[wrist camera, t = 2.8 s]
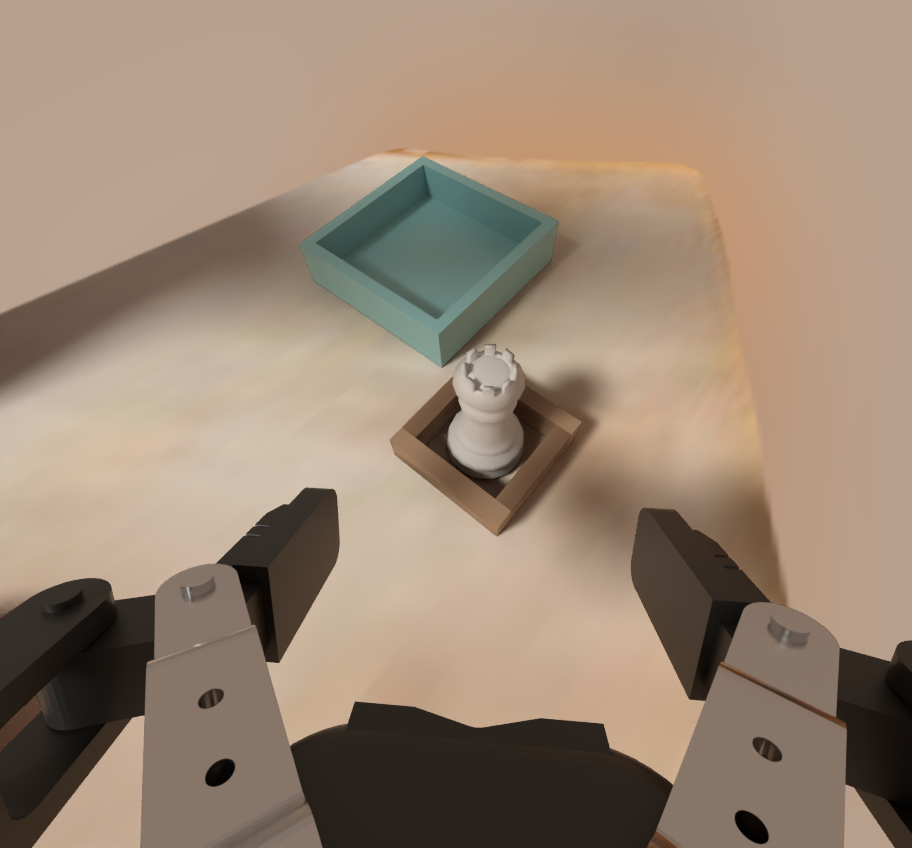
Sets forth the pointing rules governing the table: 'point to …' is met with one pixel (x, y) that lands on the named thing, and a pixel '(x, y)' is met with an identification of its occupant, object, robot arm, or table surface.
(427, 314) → the tray
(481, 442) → the rook chess piece
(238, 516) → the table surface
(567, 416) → the socket collar
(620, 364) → the table surface
